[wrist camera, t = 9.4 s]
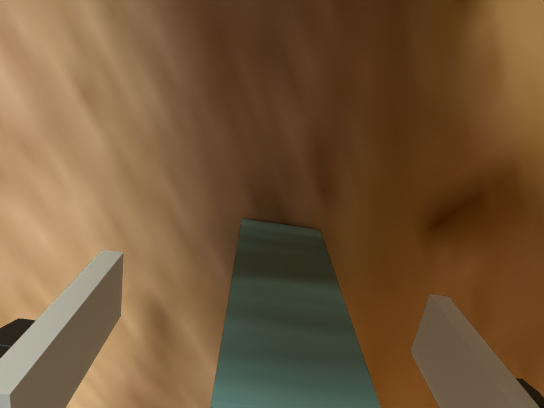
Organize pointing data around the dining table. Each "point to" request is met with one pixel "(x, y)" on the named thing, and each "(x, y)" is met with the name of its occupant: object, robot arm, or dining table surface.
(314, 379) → the tethered block
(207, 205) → the dining table surface
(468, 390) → the robot arm
